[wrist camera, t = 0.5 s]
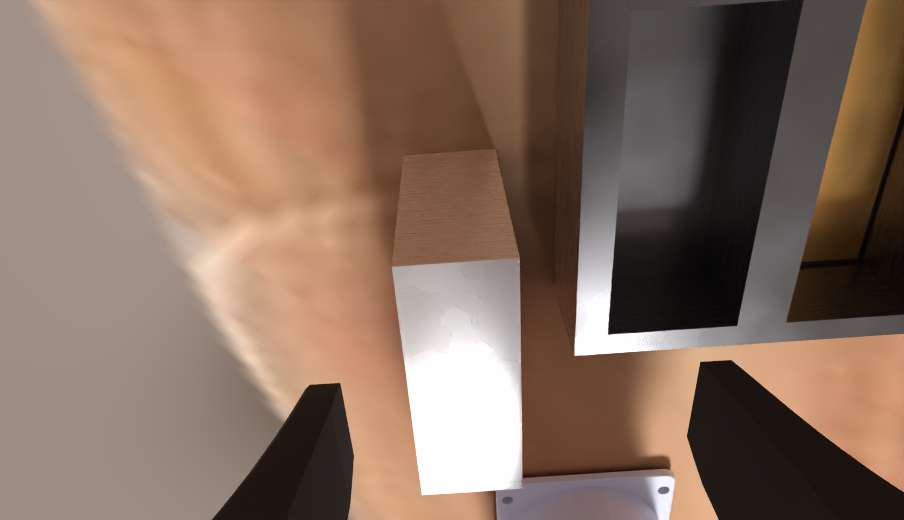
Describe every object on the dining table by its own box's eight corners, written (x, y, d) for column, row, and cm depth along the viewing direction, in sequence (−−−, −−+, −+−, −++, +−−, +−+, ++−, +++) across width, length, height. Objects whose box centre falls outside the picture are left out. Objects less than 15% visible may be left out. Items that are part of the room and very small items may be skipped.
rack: (1018, 254, 24) (1210, 379, 18) (553, 286, 24) (593, 420, 18) (1175, -95, 18) (1537, -79, 12) (560, -49, 18) (622, -11, 12)
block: (501, 341, 25) (522, 488, 19) (424, 346, 25) (422, 495, 19) (495, 148, 21) (519, 258, 15) (403, 154, 21) (391, 266, 15)
